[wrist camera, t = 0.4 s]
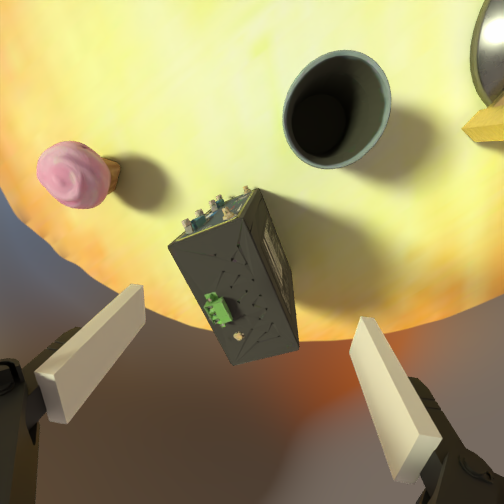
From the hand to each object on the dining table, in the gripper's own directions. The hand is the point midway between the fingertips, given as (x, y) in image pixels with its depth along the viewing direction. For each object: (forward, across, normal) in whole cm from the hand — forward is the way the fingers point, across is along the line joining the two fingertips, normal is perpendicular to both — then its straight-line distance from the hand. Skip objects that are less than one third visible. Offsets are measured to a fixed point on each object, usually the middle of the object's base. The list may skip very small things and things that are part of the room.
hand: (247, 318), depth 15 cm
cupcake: (+28, -26, +4) cm, 38 cm away
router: (+28, -2, -5) cm, 28 cm away
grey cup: (+28, +6, +13) cm, 31 cm away
